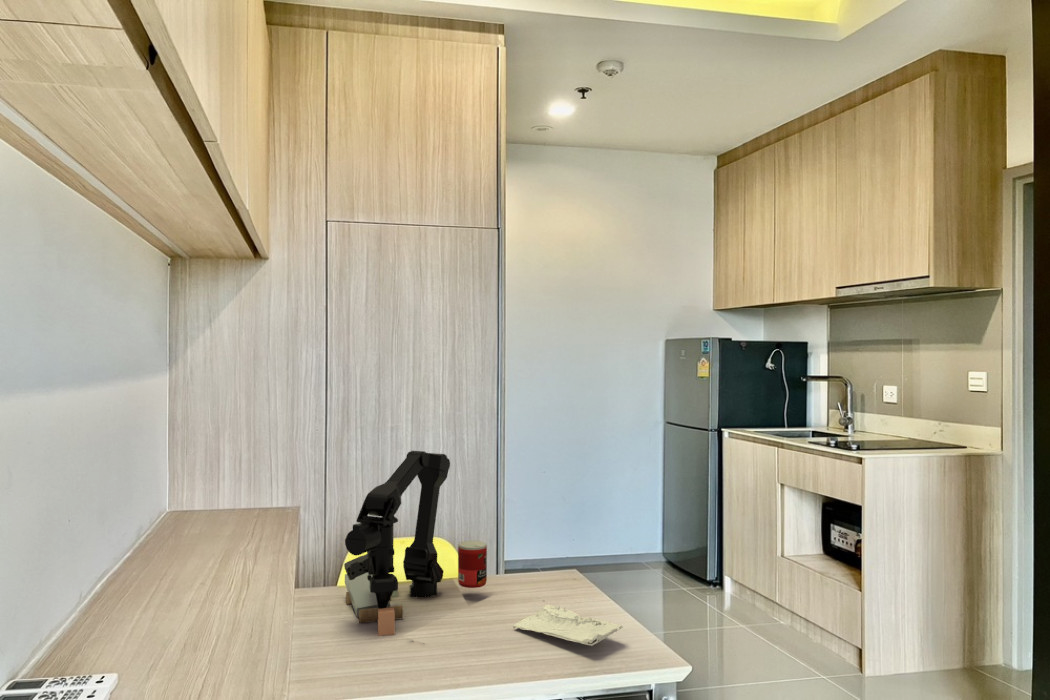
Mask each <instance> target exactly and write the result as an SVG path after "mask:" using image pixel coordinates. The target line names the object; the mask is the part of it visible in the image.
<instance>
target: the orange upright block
mask: <svg viewBox="0 0 1050 700" xmlns="http://www.w3.org/2000/svg"><path fill="white" fill-rule="evenodd" d="M395 620H396V619H395V611H394V607H393V608H383V609H378V621H377V634H378V637H381V636H382V637H383V636H391V635H392V636H393V635H395V631H396V630H395V628H396V627H395V625H396V623H395V622H396V621H395Z"/></svg>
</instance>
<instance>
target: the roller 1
mask: <svg viewBox="0 0 1050 700" xmlns="http://www.w3.org/2000/svg"><path fill="white" fill-rule="evenodd" d="M391 598H392V597H391ZM391 598H390V600H389V601H391ZM345 602H346V605H352V602H351V599H350V596H349V593H348V591H346V593H345Z"/></svg>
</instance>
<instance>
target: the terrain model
mask: <svg viewBox="0 0 1050 700" xmlns="http://www.w3.org/2000/svg"><path fill="white" fill-rule="evenodd" d="M623 627H624V626H623V625H622V624H617V623H614V622H613V623H612V622H610V621H609V622H608V621H607V620H606V621H605V620H603V619H602V620H601V619H596V618H592V617H584V616H580V614H579V613H575V612H574V611H572V610H569V609H567V608H566V607H563V608H562V607H560V605H556V606H554V605H552V604H548V603H546V604H545V605H544V606H542V607H541V608H540V609H539V610H538V611H537V612H536V613H534V614H532V615H529V616H527V617H525V618H524V619H521V620H520V621H518V622H517V623H515V624H513V629H516V628H518V629H520V630H524V631H526V630H527V631H533V632H535V633H542V634H544V635H547V636H552V637H555V638H559V639H563V640H566V641H571V642H573V643H580V644H582V645H585V646H586V645H587V646H591V647H593V646H594V645H596V644H598V643H599V642H601V641H603V640H605V639H606V638H608V637H610V636H611V635H613V634H614V633H617V632H618V631H620V630H621V629H622V628H623ZM595 640H596V641H595Z"/></svg>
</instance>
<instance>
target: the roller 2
mask: <svg viewBox="0 0 1050 700" xmlns="http://www.w3.org/2000/svg"><path fill="white" fill-rule="evenodd" d="M393 607H394V611H395V620H403V617H404V615H403V614H404V612H403V611H404V610H403V605H392V606H391V605H390V607H386V608H393ZM358 621H359V624H362V623H372V622H373V623H374V622H378V608H371V609H361V610H359V617H358Z"/></svg>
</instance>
